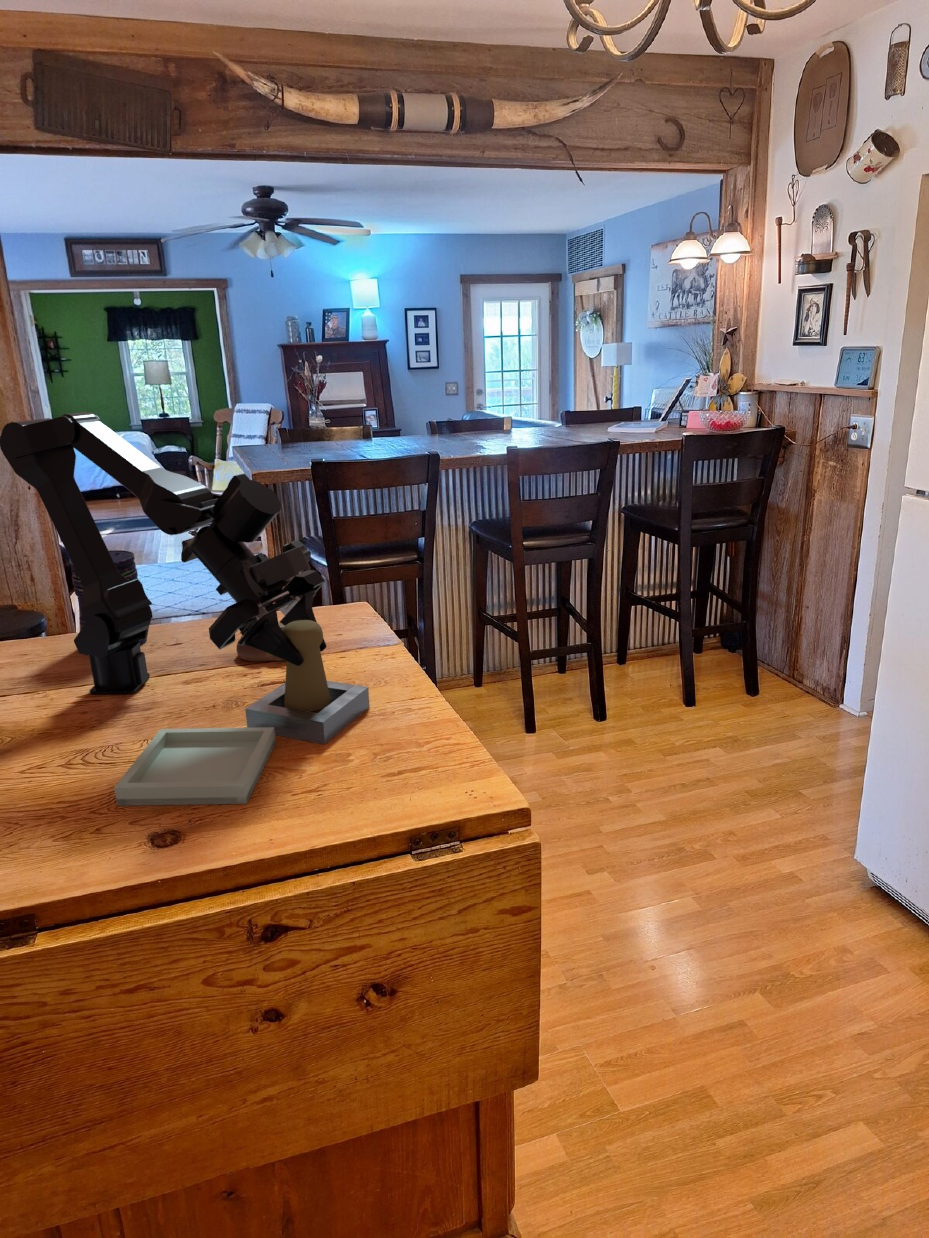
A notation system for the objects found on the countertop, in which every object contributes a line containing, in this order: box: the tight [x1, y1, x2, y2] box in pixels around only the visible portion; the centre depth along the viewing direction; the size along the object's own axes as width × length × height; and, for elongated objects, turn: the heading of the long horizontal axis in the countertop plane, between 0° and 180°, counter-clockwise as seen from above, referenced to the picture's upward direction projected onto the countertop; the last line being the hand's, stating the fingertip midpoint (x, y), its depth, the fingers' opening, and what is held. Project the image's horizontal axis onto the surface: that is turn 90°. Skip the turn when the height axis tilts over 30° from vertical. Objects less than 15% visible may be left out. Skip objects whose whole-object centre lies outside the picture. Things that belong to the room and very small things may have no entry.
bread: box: [236, 621, 285, 662], centre depth 131 cm, size 11×11×5 cm
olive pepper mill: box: [283, 620, 331, 712], centre depth 105 cm, size 6×6×11 cm
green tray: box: [113, 727, 277, 807], centre depth 94 cm, size 14×14×2 cm
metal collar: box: [244, 680, 370, 745], centre depth 107 cm, size 12×12×3 cm
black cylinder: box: [69, 549, 148, 647], centre depth 133 cm, size 10×10×15 cm
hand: (313, 656), depth 104 cm, fingers closed on olive pepper mill, 5 cm apart
